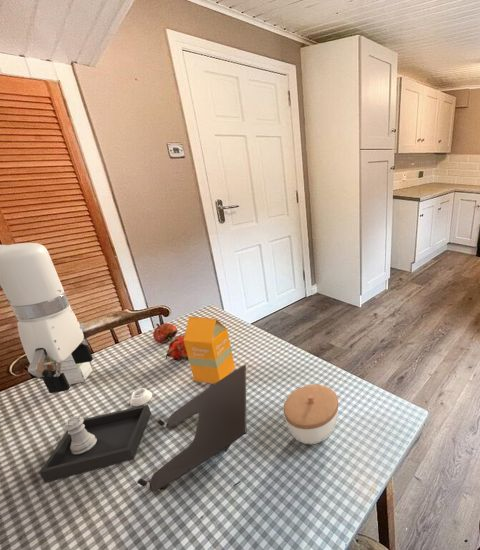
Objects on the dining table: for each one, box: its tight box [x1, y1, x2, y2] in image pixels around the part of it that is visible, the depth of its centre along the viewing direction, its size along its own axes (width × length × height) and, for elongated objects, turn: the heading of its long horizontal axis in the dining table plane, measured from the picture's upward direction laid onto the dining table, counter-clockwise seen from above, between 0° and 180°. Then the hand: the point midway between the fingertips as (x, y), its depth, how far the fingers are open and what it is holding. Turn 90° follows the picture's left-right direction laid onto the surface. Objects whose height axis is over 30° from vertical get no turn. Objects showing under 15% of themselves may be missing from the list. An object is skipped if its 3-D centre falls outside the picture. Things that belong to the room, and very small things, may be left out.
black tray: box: [38, 404, 152, 484], centre depth 70 cm, size 16×14×3 cm
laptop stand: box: [137, 364, 248, 493], centre depth 71 cm, size 23×23×9 cm
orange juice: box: [184, 316, 236, 384], centre depth 90 cm, size 8×9×20 cm
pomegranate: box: [152, 322, 178, 344], centre depth 108 cm, size 7×7×10 cm
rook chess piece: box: [63, 415, 97, 454], centre depth 68 cm, size 4×4×8 cm
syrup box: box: [49, 354, 94, 385], centre depth 89 cm, size 6×6×14 cm
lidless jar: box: [129, 387, 153, 407], centre depth 83 cm, size 5×3×5 cm
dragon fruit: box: [165, 332, 188, 362], centre depth 101 cm, size 8×8×12 cm
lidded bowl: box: [283, 383, 339, 445], centre depth 72 cm, size 13×13×11 cm
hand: (73, 375), depth 66 cm, fingers open, 9 cm apart
